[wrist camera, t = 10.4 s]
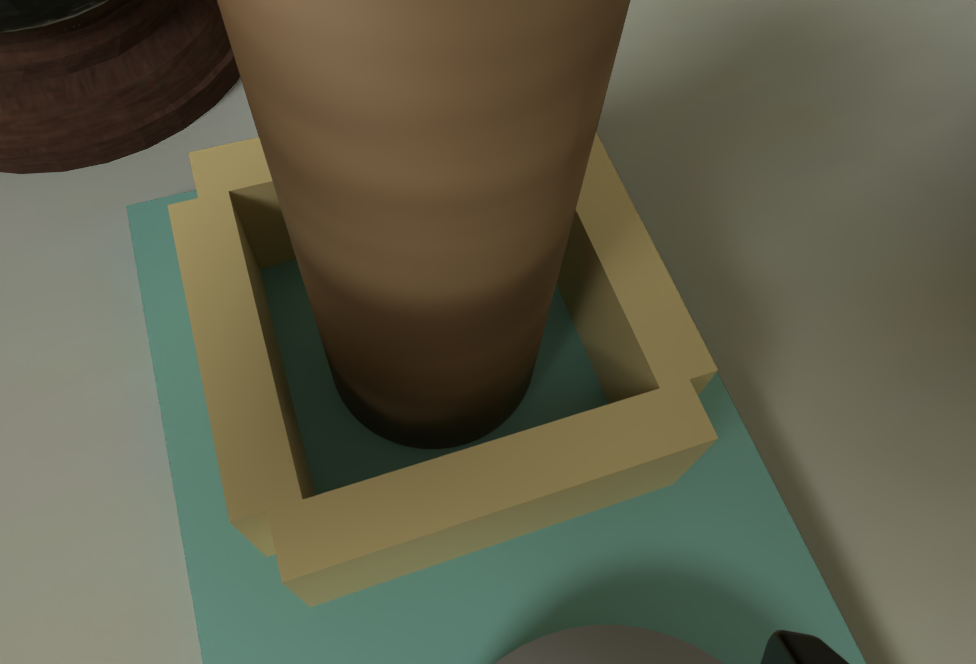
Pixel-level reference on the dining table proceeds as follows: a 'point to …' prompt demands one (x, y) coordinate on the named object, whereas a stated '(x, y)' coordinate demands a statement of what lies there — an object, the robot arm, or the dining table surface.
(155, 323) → the carrier plate
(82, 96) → the black ball on stand
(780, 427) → the dining table surface
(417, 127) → the walnut dowel
